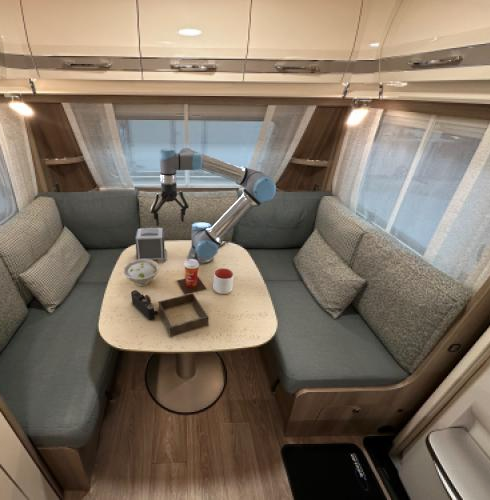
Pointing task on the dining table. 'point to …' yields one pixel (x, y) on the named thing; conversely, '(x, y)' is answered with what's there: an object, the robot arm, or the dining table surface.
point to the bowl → (141, 271)
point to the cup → (223, 280)
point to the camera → (143, 305)
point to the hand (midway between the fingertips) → (169, 223)
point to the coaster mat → (191, 289)
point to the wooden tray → (186, 325)
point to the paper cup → (191, 272)
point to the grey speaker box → (150, 244)
